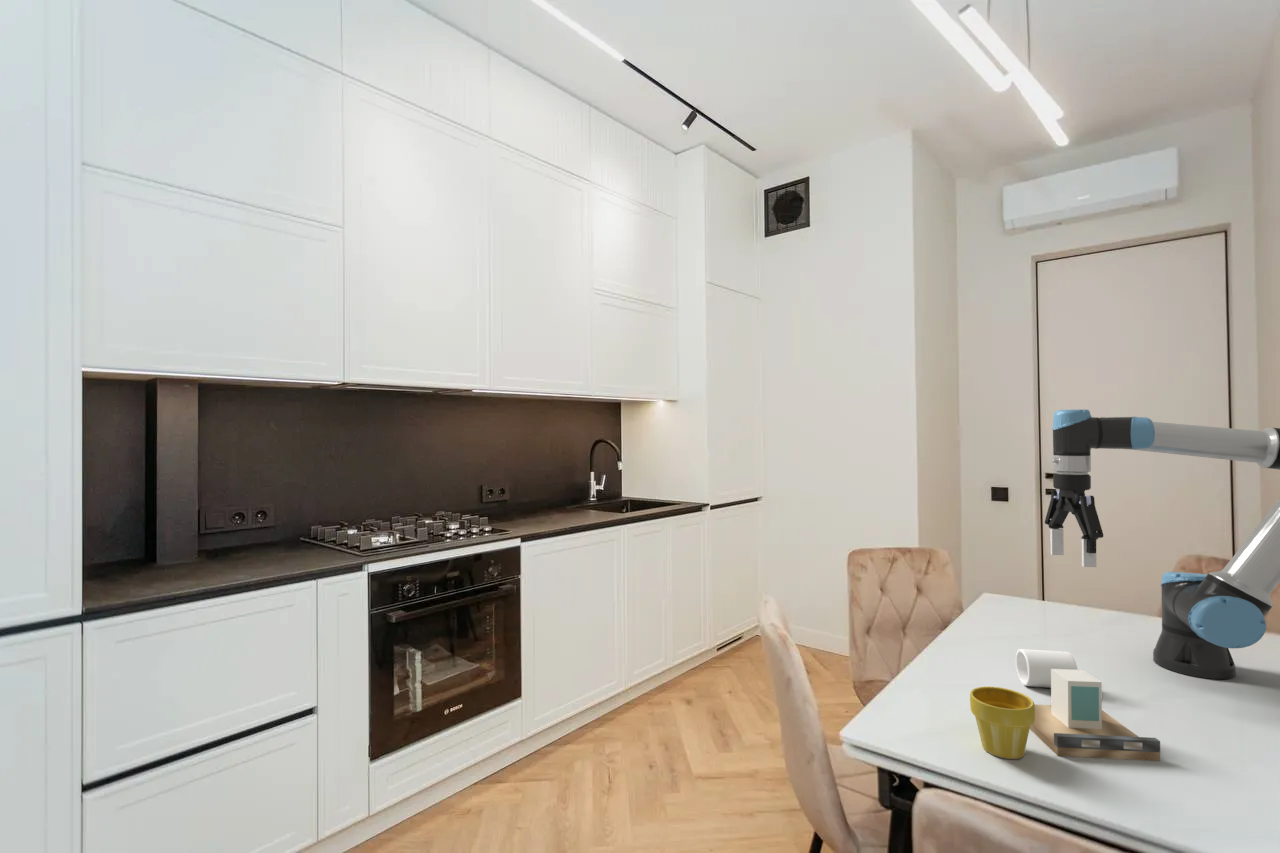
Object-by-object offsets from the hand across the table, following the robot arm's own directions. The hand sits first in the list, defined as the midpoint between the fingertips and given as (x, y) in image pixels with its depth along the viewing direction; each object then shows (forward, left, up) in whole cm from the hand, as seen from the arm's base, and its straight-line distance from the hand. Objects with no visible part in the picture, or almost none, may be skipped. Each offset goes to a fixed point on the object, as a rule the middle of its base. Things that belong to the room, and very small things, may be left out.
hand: (1072, 560), depth 151 cm
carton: (+16, +31, -25) cm, 43 cm away
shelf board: (+17, +33, -27) cm, 46 cm away
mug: (+11, +8, -27) cm, 30 cm away
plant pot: (+34, +41, -27) cm, 60 cm away
